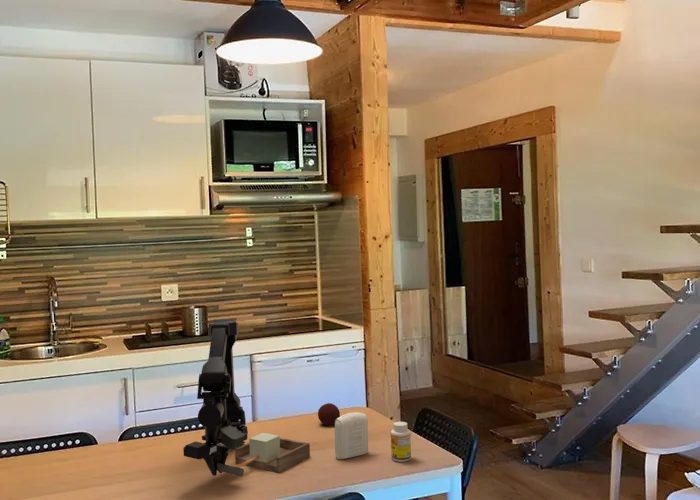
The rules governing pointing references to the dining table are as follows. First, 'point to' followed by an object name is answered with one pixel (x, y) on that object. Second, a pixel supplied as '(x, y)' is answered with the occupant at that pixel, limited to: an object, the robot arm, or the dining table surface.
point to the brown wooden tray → (288, 457)
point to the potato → (328, 414)
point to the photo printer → (351, 435)
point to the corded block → (256, 453)
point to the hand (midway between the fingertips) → (217, 474)
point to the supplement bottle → (400, 442)
